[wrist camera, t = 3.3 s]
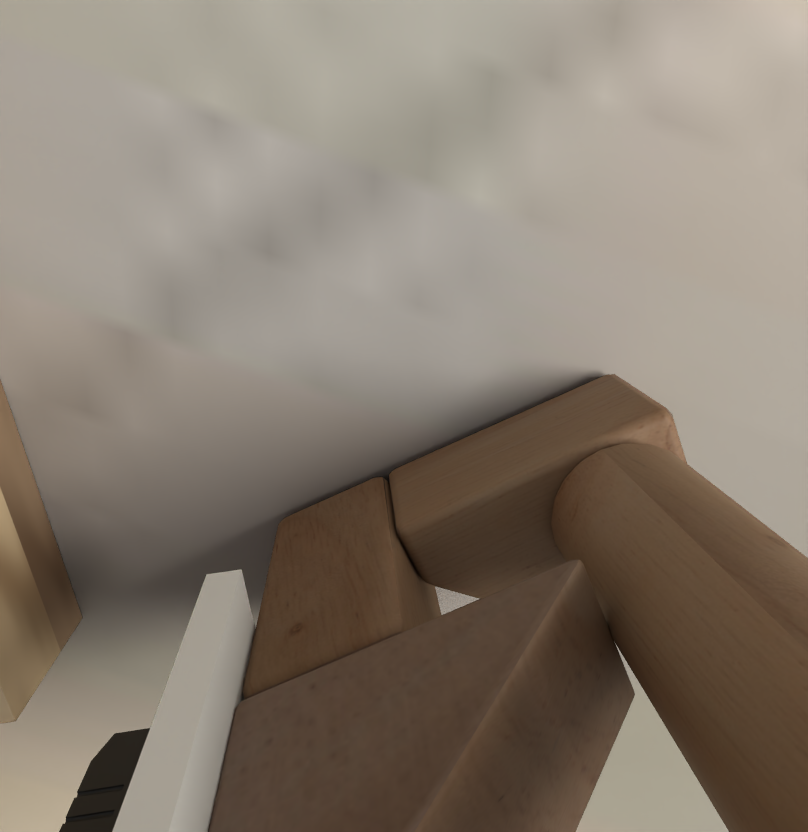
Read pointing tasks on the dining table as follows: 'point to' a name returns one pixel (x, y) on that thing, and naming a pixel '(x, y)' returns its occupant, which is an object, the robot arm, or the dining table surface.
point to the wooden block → (521, 636)
